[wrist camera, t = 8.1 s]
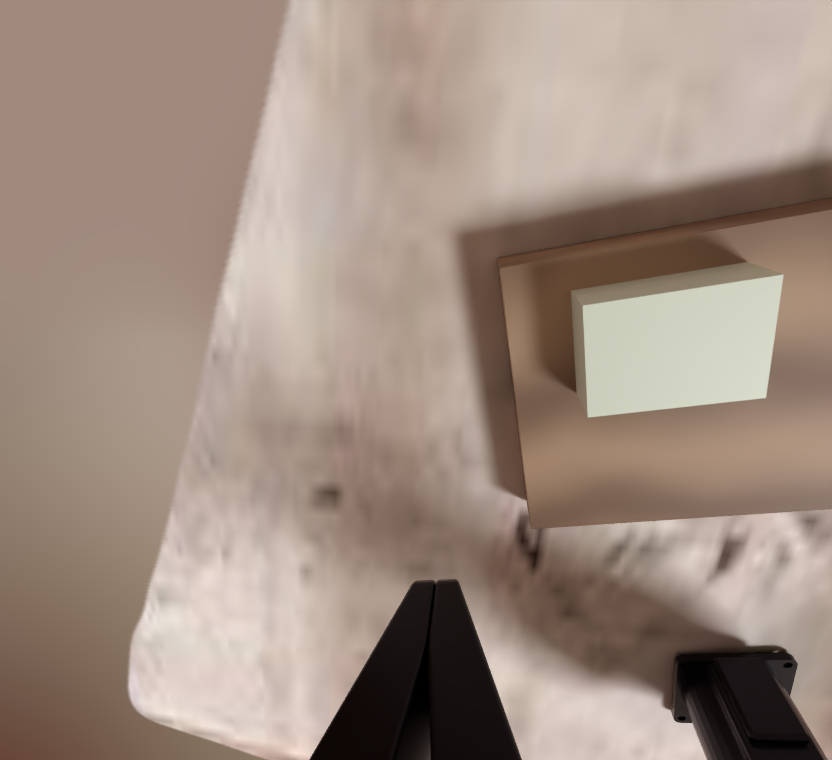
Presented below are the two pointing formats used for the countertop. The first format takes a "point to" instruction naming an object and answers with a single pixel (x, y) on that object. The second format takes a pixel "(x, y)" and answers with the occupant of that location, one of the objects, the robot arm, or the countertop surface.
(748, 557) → the countertop surface
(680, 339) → the sage green cuboid
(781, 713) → the robot arm
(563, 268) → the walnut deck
